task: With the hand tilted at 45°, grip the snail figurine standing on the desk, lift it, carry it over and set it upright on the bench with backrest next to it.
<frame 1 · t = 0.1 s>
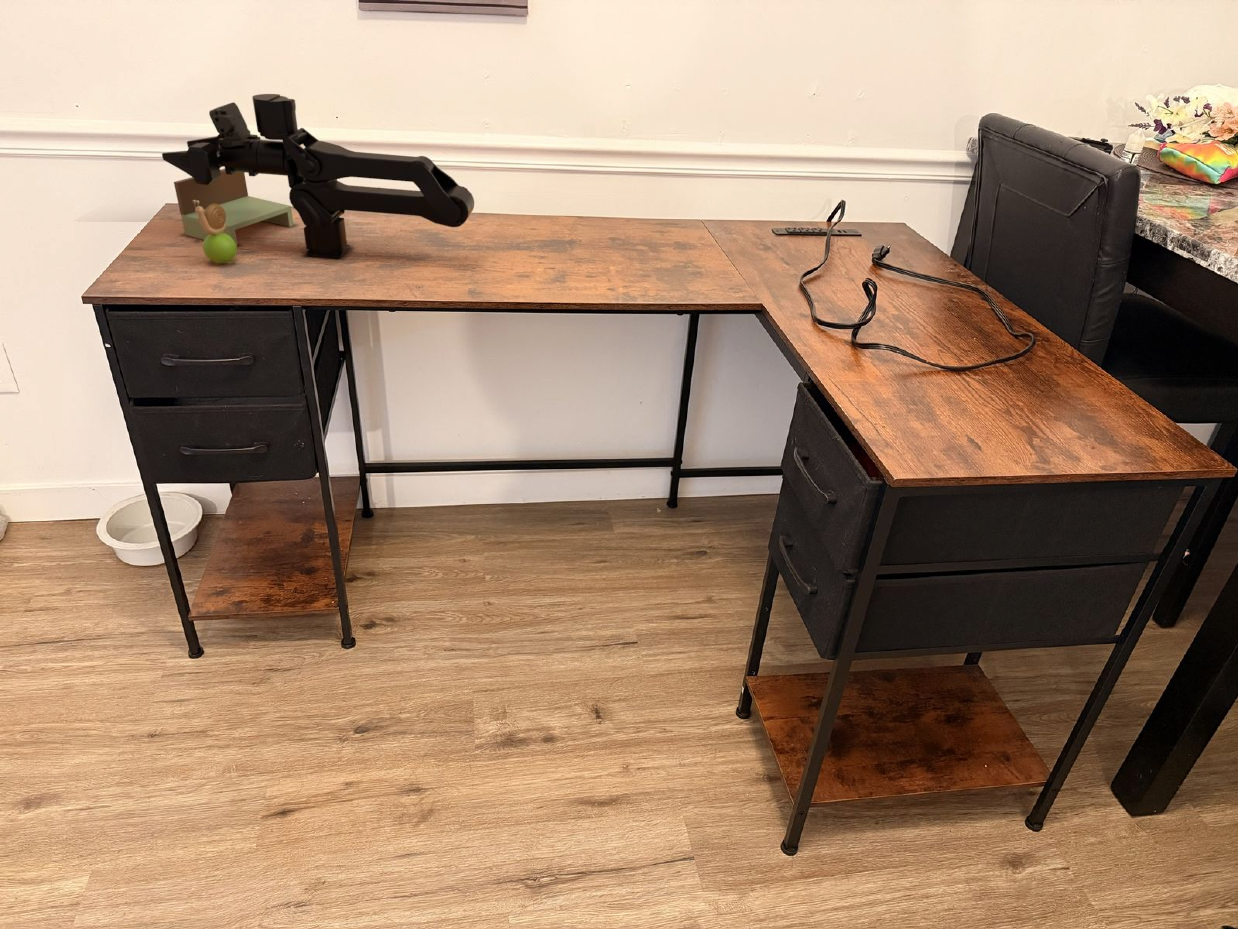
hand: (175, 150, 151), 17 cm above the table, tool horizontal, fingers open, 9 cm apart
snail figurine: (221, 264, 152), on the table
bench with backrest: (240, 230, 167), on the table
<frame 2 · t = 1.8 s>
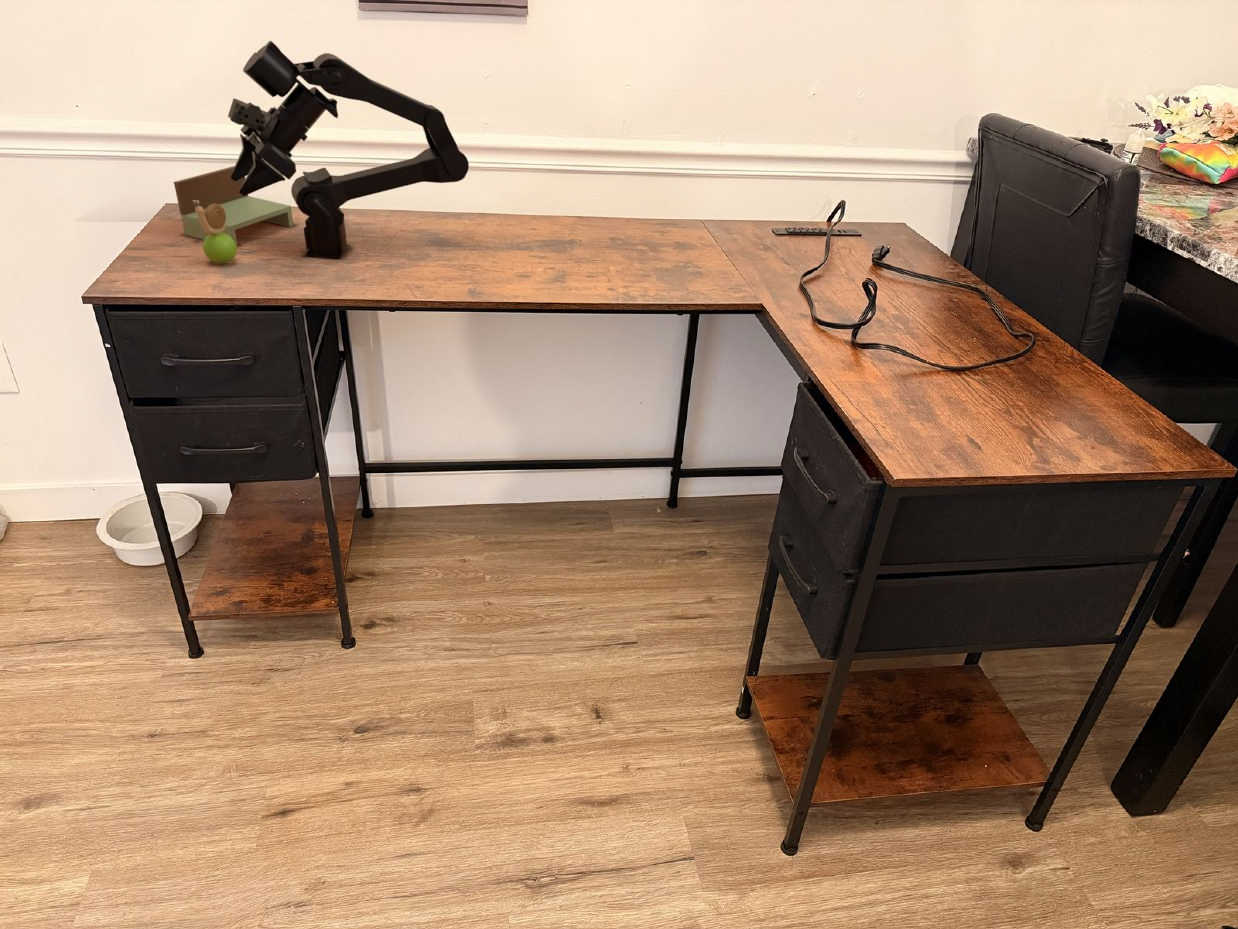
hand: (236, 186, 147), 13 cm above the table, tool tilted 45°, fingers open, 9 cm apart
nothing on the table moved.
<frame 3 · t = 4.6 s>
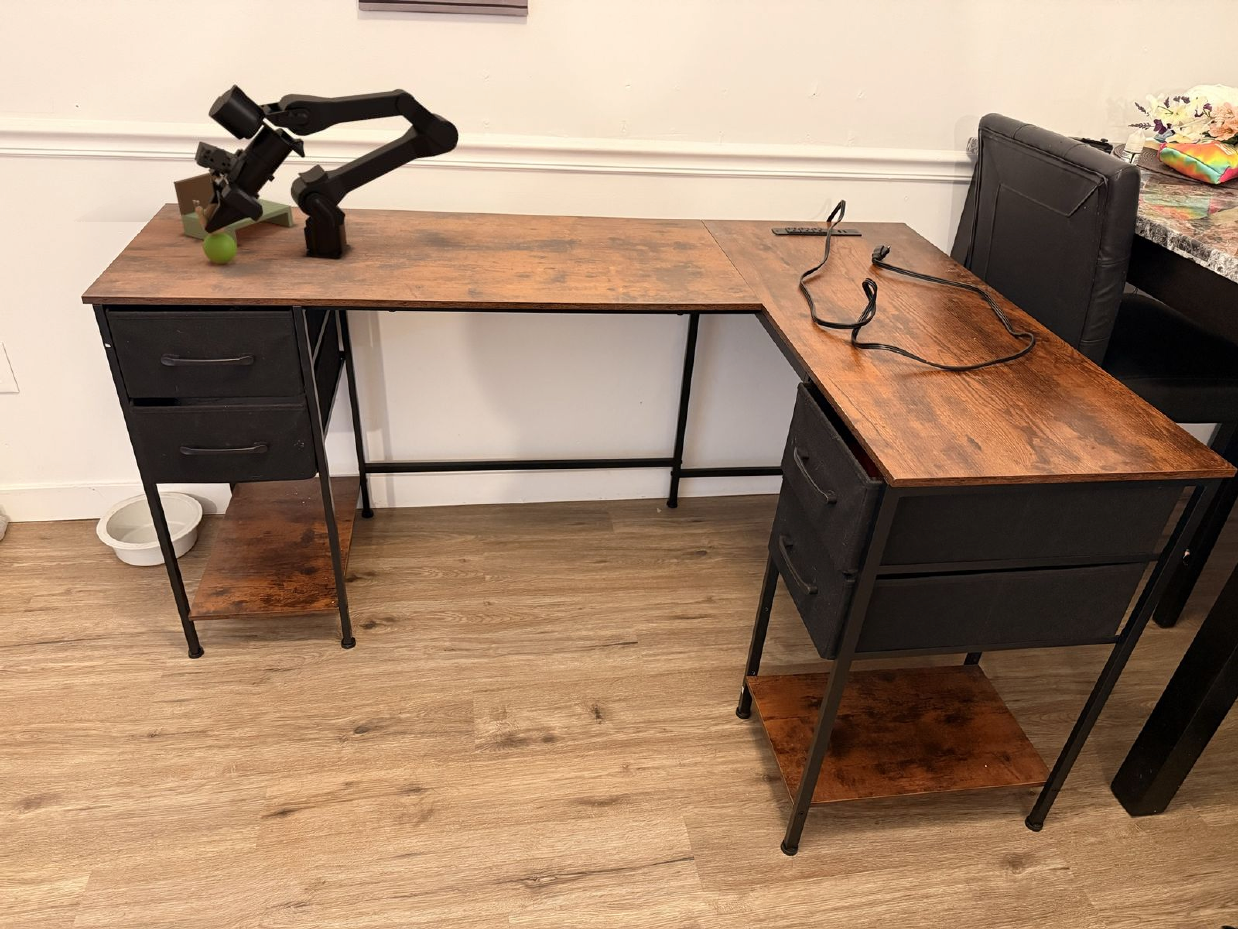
hand: (205, 227, 148), 7 cm above the table, tool tilted 45°, fingers closed on snail figurine, 4 cm apart
snail figurine: (221, 264, 152), on the table, touching gripper
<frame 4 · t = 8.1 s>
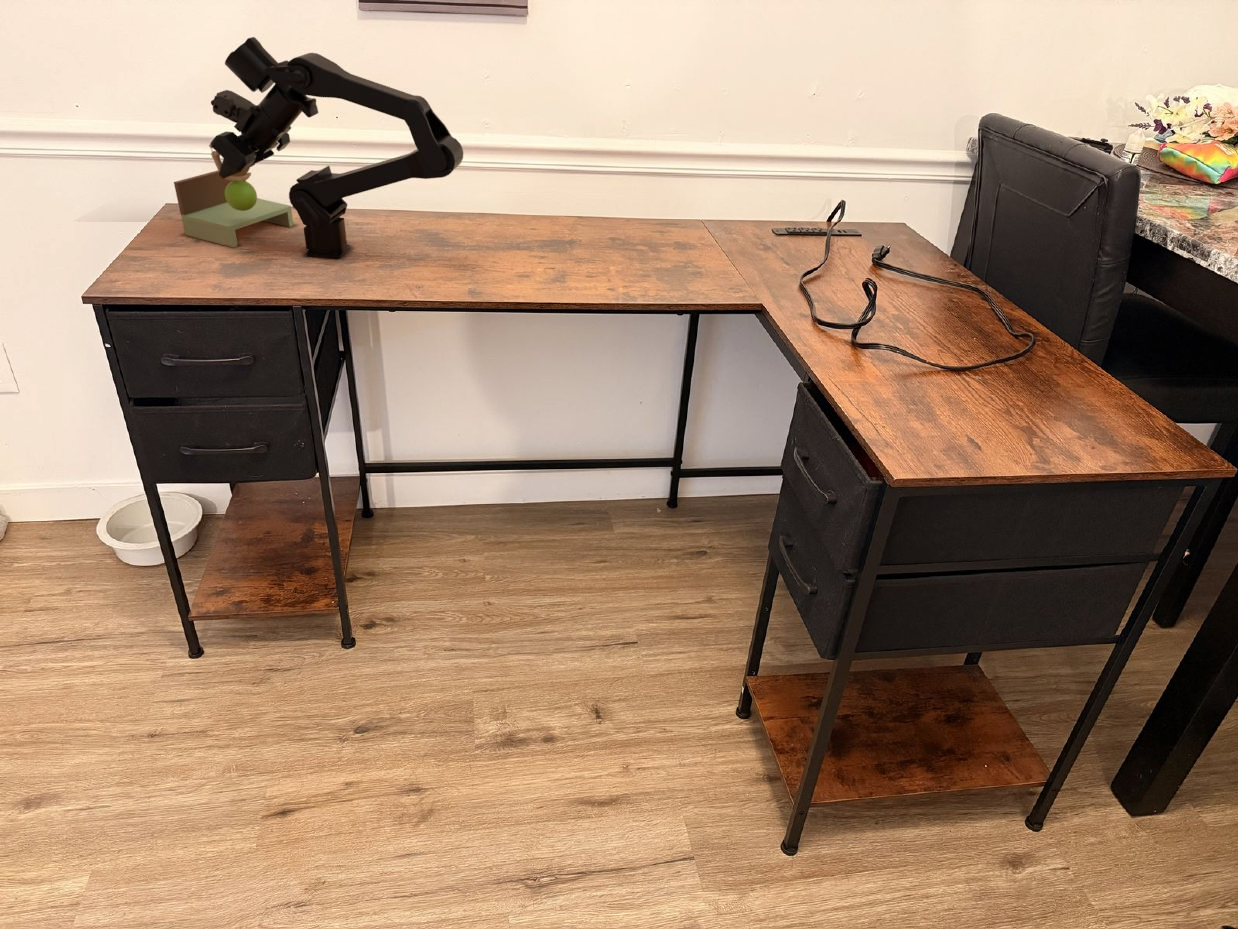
hand: (226, 173, 154), 13 cm above the table, tool tilted 45°, fingers closed on snail figurine, 4 cm apart
snail figurine: (241, 211, 157), point 6 cm above the table, touching gripper
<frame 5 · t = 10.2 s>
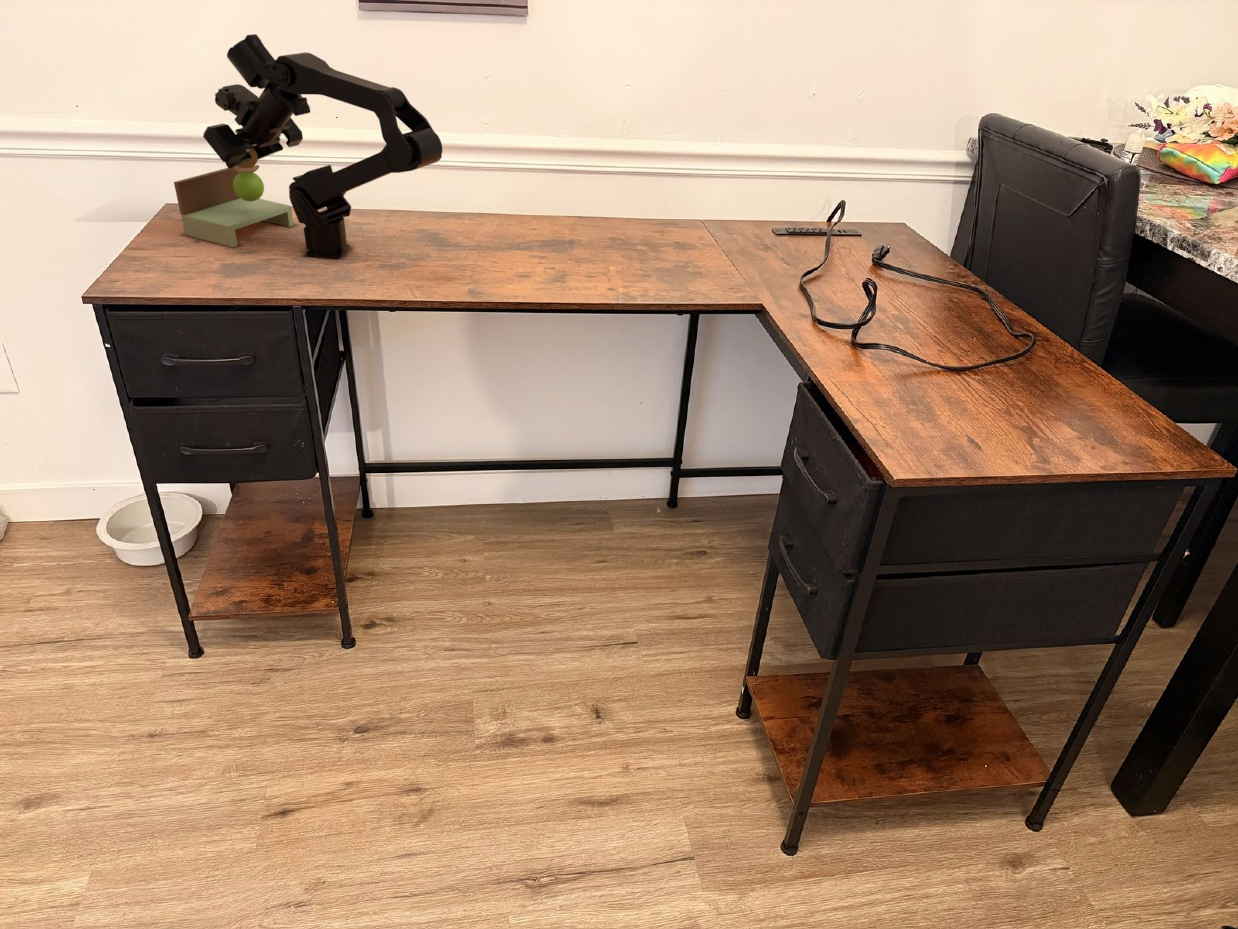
hand: (236, 164, 159), 13 cm above the table, tool tilted 45°, fingers closed on snail figurine, 4 cm apart
snail figurine: (248, 201, 162), point 6 cm above the table, touching gripper
when the fingers open (11 cm above the table, at t = 11.8 s): snail figurine stays where it is, resting on bench with backrest.
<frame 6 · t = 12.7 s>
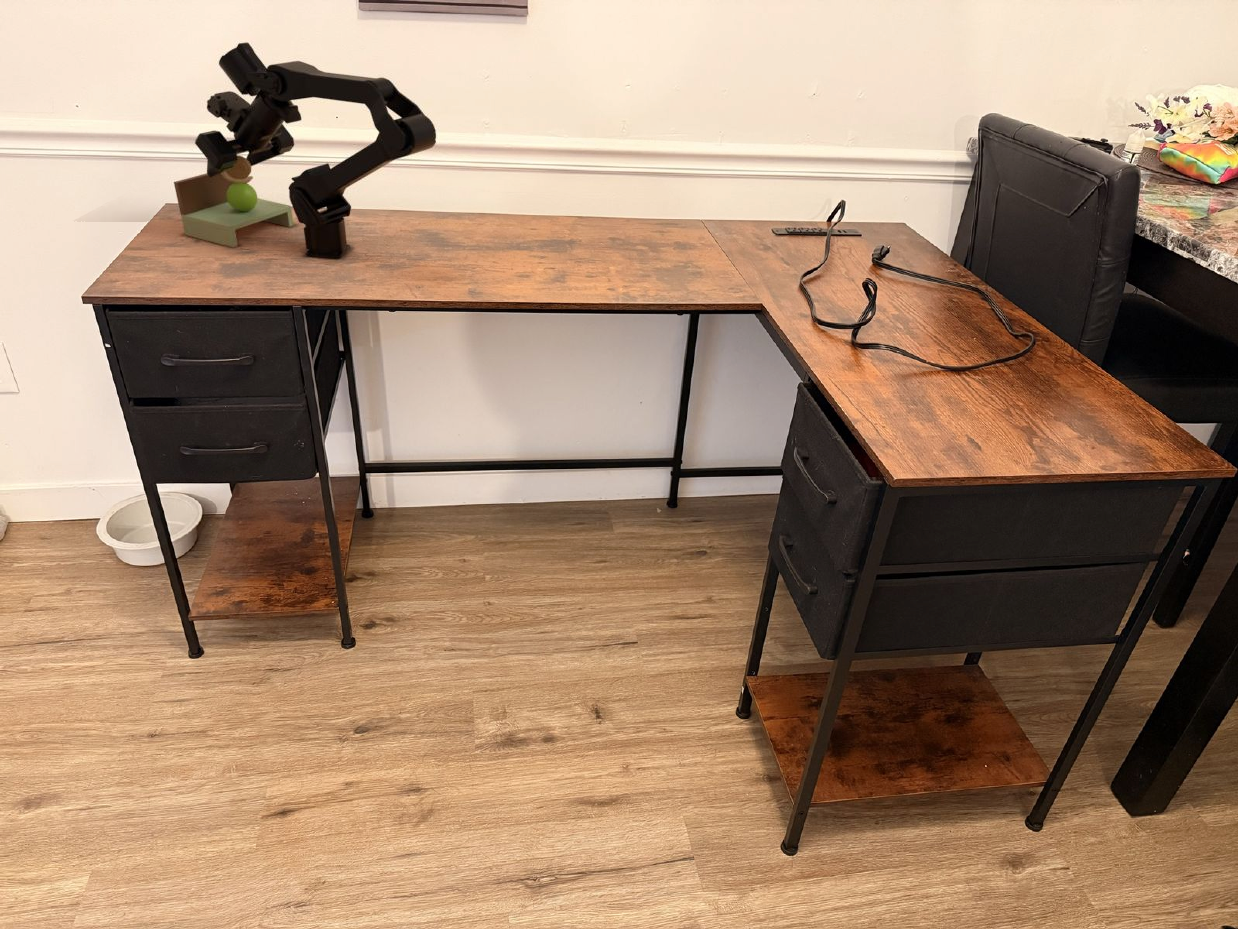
hand: (228, 169, 161), 11 cm above the table, tool tilted 45°, fingers open, 9 cm apart
snail figurine: (241, 211, 164), point 4 cm above the table, touching bench with backrest
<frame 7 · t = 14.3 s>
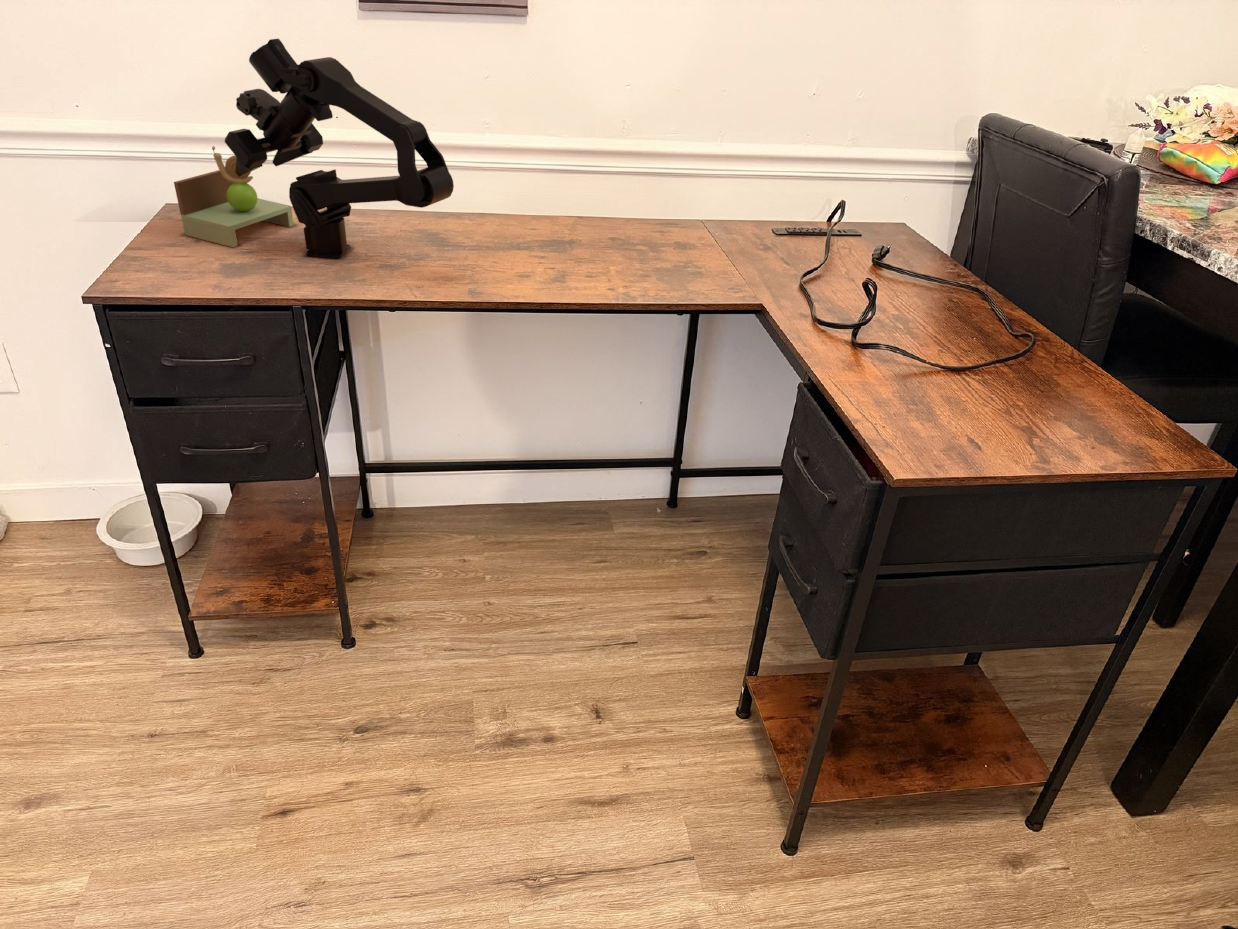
hand: (256, 169, 158), 13 cm above the table, tool tilted 45°, fingers open, 9 cm apart
nothing on the table moved.
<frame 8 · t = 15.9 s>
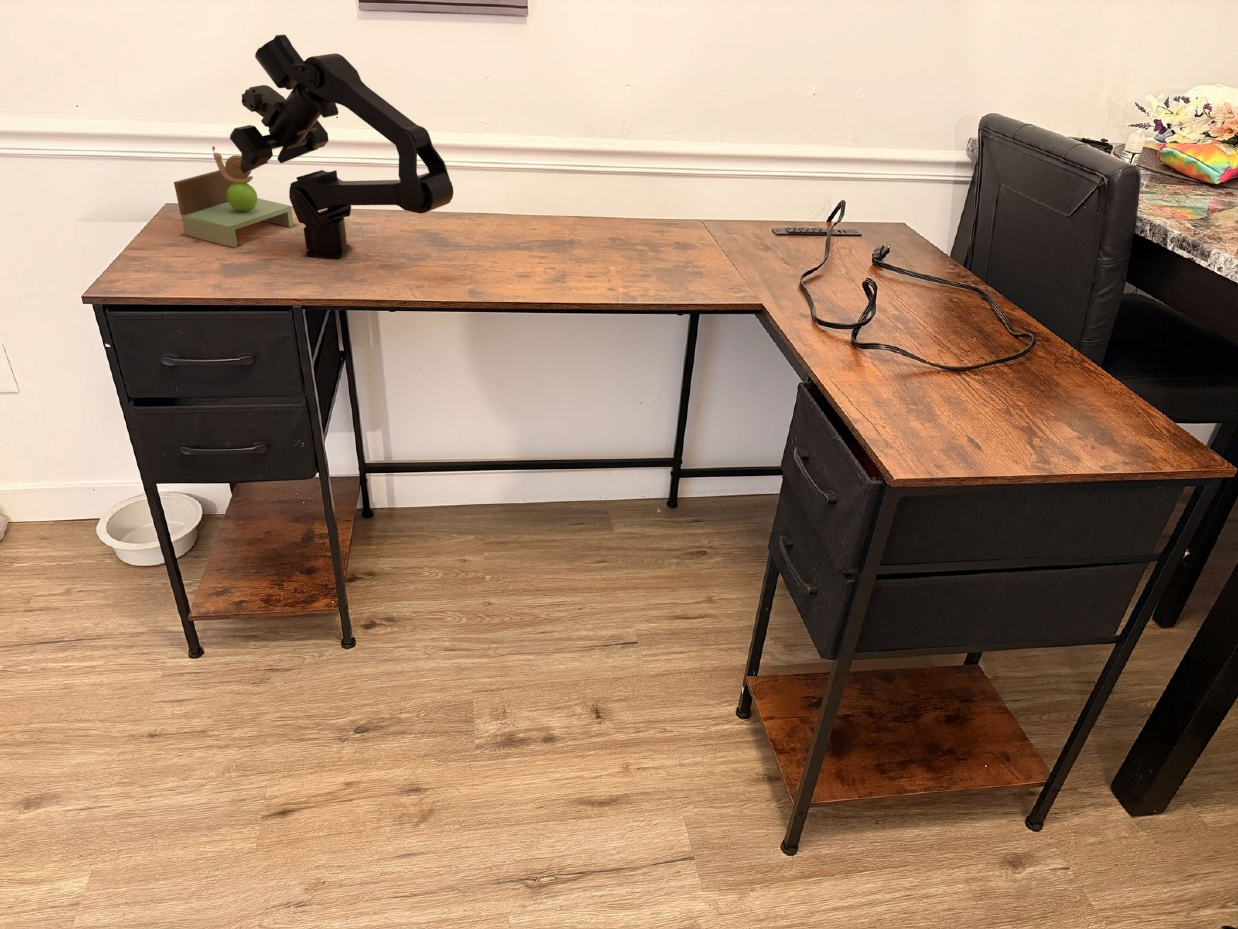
hand: (261, 165, 157), 14 cm above the table, tool tilted 45°, fingers open, 9 cm apart
nothing on the table moved.
at the end: snail figurine inside the target area on the bench with backrest (0.8 cm from its centre), point 3.8 cm above the bench with backrest's base; snail figurine tilted 0°; the gripper is holding nothing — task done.
